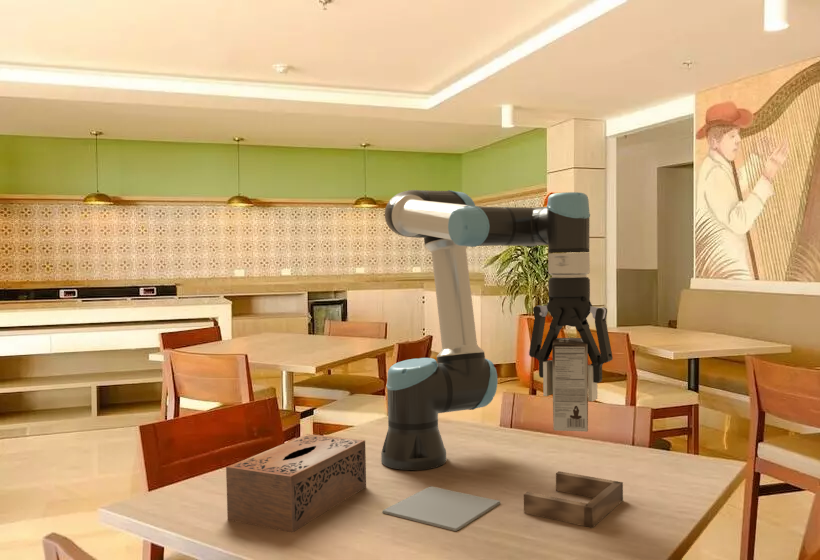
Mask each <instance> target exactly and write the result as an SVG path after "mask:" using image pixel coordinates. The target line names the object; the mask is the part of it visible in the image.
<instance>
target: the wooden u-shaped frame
mask: <svg viewBox="0 0 820 560" xmlns="http://www.w3.org/2000/svg"><path fill="white" fill-rule="evenodd" d="M623 483H624V482H623V481H616V480H611V479H605V478H599V477H595V476H588V475H582V474H578V473H577V474H576V473H570V472H567V471H566V472H564V471H557V472H556V473H555V491H556V492H557V491H558V492H563V493H568V494H573V495H579V496H583V497H589V498H592V499H591V500H589V501H588V502H582V501H576V500H571V499H566V498H563V497H562V498H561V497H557V496H551V495H546V494H541V493H537V492H531V491H526V492H525V493H523V513H524V514H527V515H532V516H536V517H542V518H546V519H551V520H554V521H559V522H564V523H568V524H572V525H573V524H574V525H579V526H582V527H586V528H594V527H595V526H596V525H598V523H600V522H601V521H602V520H603V519H604V518H605V517H607V516H608V514H610V513H611V512H612V511H613V510H614V509H615V508H616V507H618V505H620V504H621V503H622V502H623V501H624V491H623V490H624V484H623Z"/></svg>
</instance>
